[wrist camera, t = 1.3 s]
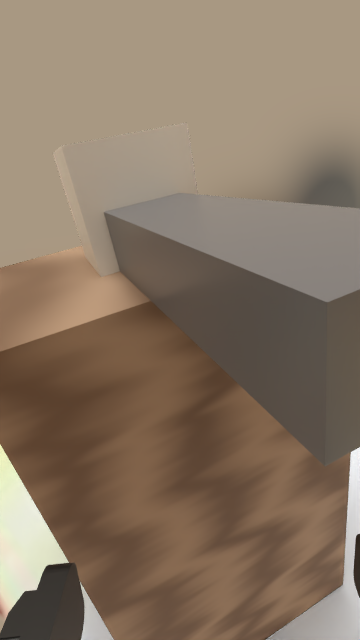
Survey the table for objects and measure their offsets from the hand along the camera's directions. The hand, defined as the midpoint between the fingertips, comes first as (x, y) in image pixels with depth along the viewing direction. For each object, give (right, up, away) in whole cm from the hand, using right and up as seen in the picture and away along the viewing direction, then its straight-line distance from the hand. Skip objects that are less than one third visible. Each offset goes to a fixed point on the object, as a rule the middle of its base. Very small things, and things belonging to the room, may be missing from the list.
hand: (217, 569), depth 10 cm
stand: (+3, -17, +24) cm, 30 cm away
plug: (-1, +9, +5) cm, 10 cm away
